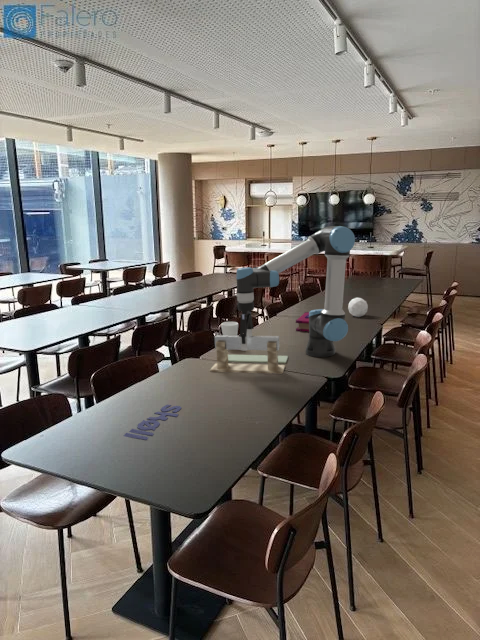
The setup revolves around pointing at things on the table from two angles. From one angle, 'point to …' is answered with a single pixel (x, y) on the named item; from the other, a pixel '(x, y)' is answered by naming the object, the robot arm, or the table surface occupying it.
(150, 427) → the signage
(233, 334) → the foam cup
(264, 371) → the rail stand
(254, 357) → the green board
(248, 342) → the rail bar
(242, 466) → the table surface
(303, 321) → the book
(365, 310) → the geodesic sphere
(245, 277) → the robot arm
